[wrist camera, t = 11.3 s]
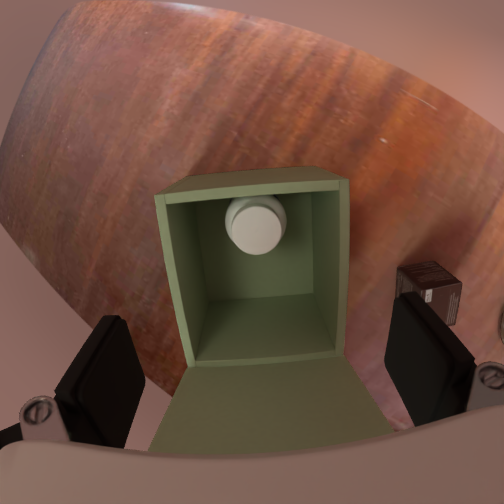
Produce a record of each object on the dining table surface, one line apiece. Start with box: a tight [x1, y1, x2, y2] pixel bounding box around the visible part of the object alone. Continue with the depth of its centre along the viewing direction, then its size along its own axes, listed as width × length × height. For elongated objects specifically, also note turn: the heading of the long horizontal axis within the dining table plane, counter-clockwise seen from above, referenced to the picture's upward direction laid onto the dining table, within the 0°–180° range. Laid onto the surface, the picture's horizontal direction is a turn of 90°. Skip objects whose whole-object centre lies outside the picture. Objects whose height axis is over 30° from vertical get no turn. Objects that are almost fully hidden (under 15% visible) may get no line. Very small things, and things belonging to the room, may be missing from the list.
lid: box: [148, 355, 394, 454], centre depth 19 cm, size 16×14×6 cm
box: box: [395, 261, 462, 327], centre depth 35 cm, size 6×6×7 cm
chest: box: [154, 166, 350, 368], centre depth 30 cm, size 16×14×12 cm
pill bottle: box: [225, 194, 287, 255], centre depth 29 cm, size 5×5×10 cm
